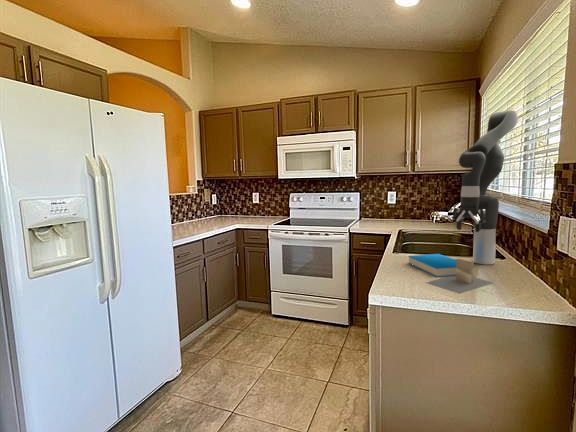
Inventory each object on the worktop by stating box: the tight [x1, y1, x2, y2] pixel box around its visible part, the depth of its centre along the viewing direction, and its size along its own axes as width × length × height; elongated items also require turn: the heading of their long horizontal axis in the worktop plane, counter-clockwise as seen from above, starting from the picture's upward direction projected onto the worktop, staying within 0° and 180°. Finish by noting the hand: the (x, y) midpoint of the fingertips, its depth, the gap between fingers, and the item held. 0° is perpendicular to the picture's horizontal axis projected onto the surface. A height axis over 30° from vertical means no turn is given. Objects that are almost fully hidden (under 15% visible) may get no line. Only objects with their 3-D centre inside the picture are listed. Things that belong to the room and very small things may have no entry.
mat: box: [425, 275, 495, 295], centre depth 133 cm, size 22×15×1 cm
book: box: [408, 253, 457, 278], centre depth 154 cm, size 17×4×25 cm
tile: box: [456, 257, 475, 284], centre depth 133 cm, size 2×6×9 cm, turn 28°
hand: (468, 230), depth 153 cm, fingers open, 8 cm apart
